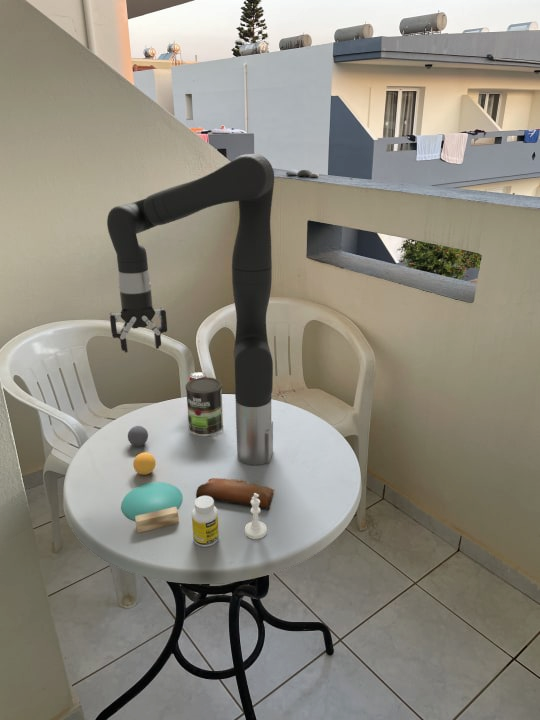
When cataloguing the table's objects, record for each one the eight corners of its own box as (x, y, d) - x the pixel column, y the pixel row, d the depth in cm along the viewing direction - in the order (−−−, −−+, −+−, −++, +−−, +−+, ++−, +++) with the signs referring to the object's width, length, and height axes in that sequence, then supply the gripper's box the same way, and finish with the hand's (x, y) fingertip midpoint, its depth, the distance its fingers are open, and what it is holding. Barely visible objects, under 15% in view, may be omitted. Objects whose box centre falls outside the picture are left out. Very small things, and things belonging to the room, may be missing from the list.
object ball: (159, 467, 131) (157, 449, 129) (151, 480, 126) (149, 461, 124) (139, 465, 132) (137, 447, 130) (131, 477, 127) (128, 459, 125)
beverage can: (207, 413, 157) (205, 379, 152) (190, 413, 157) (188, 378, 152) (209, 405, 162) (207, 371, 157) (193, 405, 162) (190, 371, 157)
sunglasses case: (277, 488, 123) (274, 477, 118) (271, 516, 119) (268, 506, 114) (207, 478, 127) (201, 467, 122) (200, 505, 123) (193, 494, 118)
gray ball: (152, 439, 143) (150, 423, 141) (144, 450, 138) (142, 433, 136) (133, 438, 144) (131, 421, 142) (125, 448, 139) (123, 431, 137)
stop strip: (177, 517, 114) (176, 506, 113) (178, 522, 112) (177, 512, 111) (136, 526, 111) (135, 516, 110) (137, 532, 109) (136, 522, 108)
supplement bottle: (208, 551, 104) (205, 513, 101) (188, 541, 107) (185, 504, 103) (224, 535, 109) (222, 498, 105) (204, 526, 111) (201, 490, 107)
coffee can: (215, 439, 144) (213, 395, 138) (182, 433, 147) (179, 390, 141) (228, 421, 153) (227, 379, 147) (197, 416, 156) (194, 375, 150)
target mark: (190, 486, 124) (190, 485, 124) (170, 525, 112) (170, 524, 111) (136, 480, 126) (136, 479, 126) (111, 517, 114) (110, 517, 114)
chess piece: (271, 530, 110) (271, 493, 106) (255, 542, 107) (255, 504, 103) (255, 519, 113) (255, 483, 109) (239, 531, 110) (238, 494, 106)
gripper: (161, 282, 130) (166, 341, 137) (104, 286, 126) (112, 347, 132) (166, 289, 124) (171, 351, 131) (106, 294, 119) (114, 358, 126)
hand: (141, 349), depth 132 cm, fingers open, 7 cm apart
